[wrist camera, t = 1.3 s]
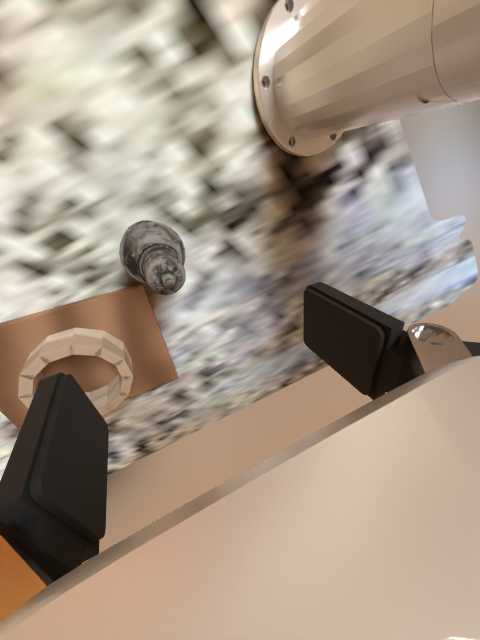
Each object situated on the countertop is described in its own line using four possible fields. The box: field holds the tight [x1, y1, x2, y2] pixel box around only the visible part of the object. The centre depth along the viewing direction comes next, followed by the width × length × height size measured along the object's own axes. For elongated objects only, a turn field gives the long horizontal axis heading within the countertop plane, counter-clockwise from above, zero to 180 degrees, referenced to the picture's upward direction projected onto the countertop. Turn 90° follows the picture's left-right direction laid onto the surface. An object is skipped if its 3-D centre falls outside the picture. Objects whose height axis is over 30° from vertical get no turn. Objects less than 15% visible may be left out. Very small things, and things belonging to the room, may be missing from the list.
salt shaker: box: [119, 221, 186, 295], centre depth 21 cm, size 6×6×12 cm
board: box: [0, 283, 178, 430], centre depth 26 cm, size 18×14×4 cm
